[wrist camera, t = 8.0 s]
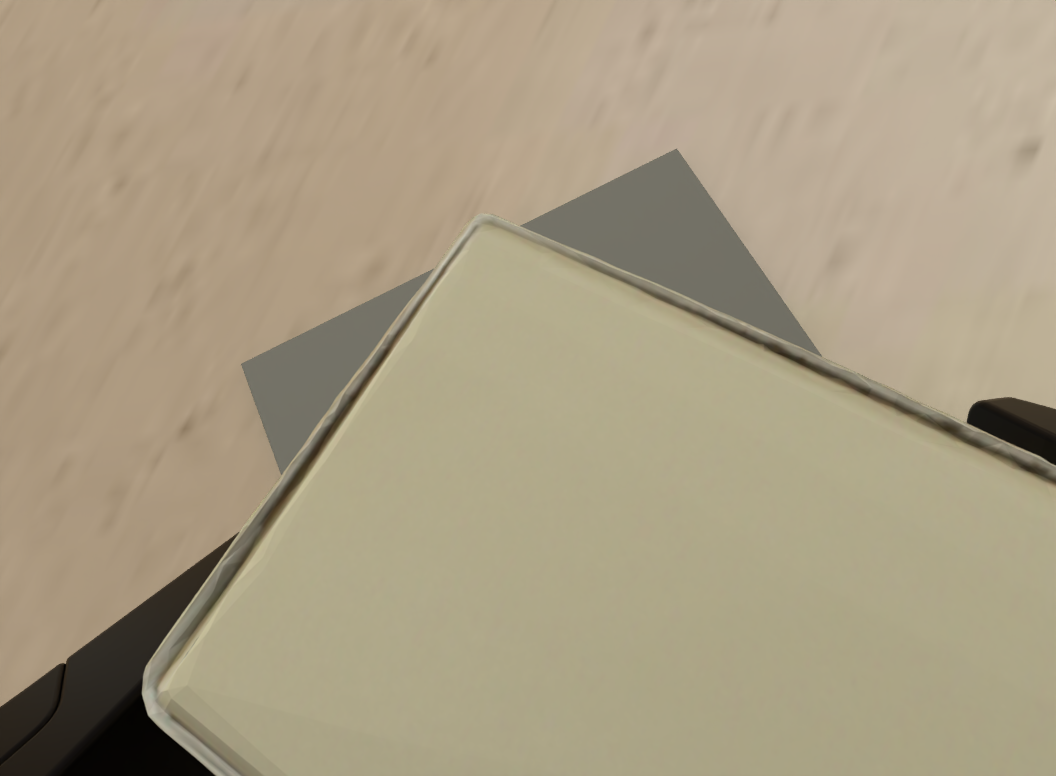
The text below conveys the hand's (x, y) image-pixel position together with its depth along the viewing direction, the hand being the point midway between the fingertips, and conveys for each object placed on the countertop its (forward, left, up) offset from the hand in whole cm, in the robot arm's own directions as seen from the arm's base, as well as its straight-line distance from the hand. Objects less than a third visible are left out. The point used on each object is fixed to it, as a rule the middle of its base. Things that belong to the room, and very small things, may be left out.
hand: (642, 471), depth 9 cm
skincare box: (-2, +1, -8) cm, 8 cm away
